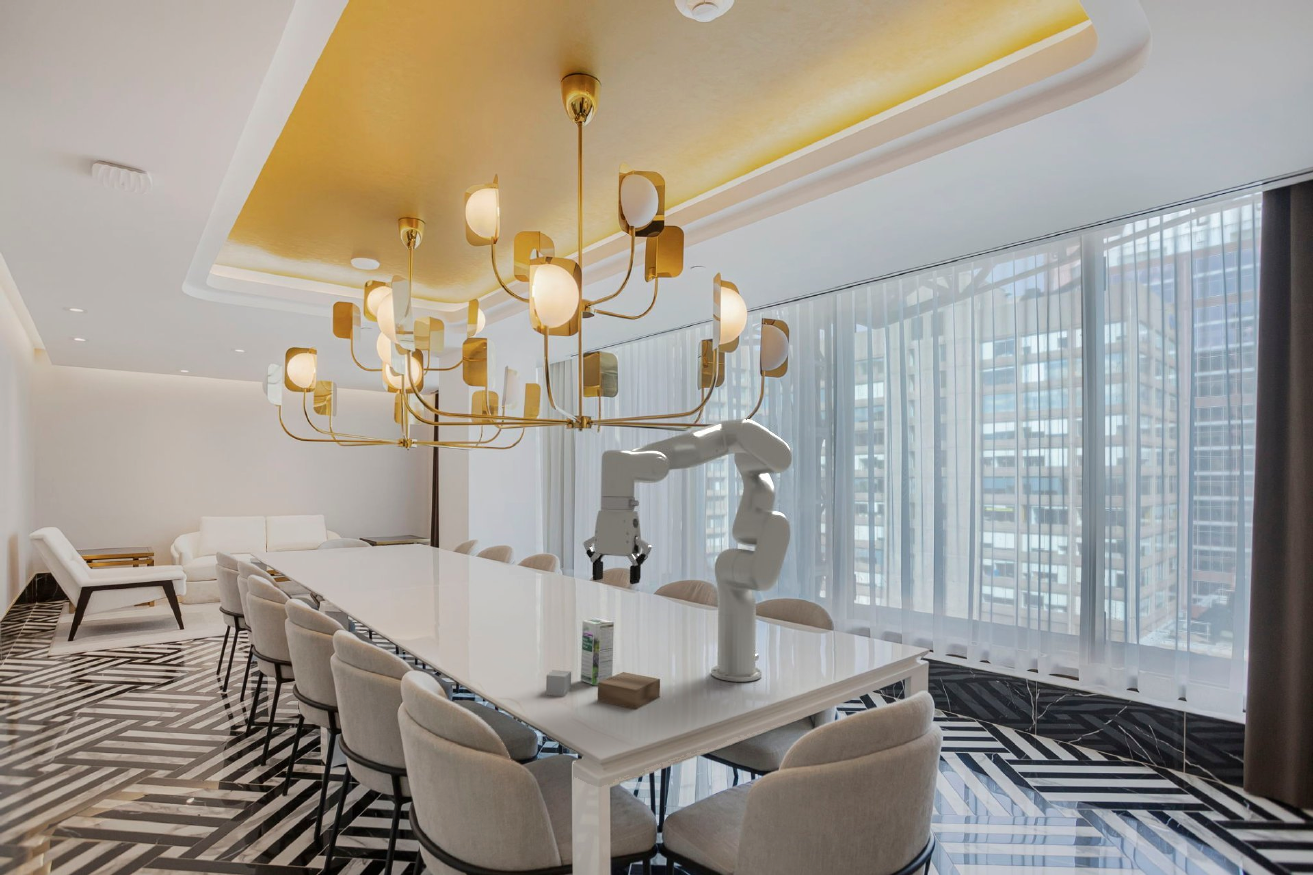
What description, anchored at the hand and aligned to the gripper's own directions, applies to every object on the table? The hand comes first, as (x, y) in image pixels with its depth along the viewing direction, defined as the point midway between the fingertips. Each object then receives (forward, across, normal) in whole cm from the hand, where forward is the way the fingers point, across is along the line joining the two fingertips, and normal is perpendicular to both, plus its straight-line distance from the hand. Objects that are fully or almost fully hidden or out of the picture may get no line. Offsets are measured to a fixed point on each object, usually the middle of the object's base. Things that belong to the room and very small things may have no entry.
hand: (616, 581), depth 155 cm
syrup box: (+26, +11, -10) cm, 30 cm away
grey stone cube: (+26, +14, +2) cm, 30 cm away
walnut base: (+26, -2, -2) cm, 26 cm away
